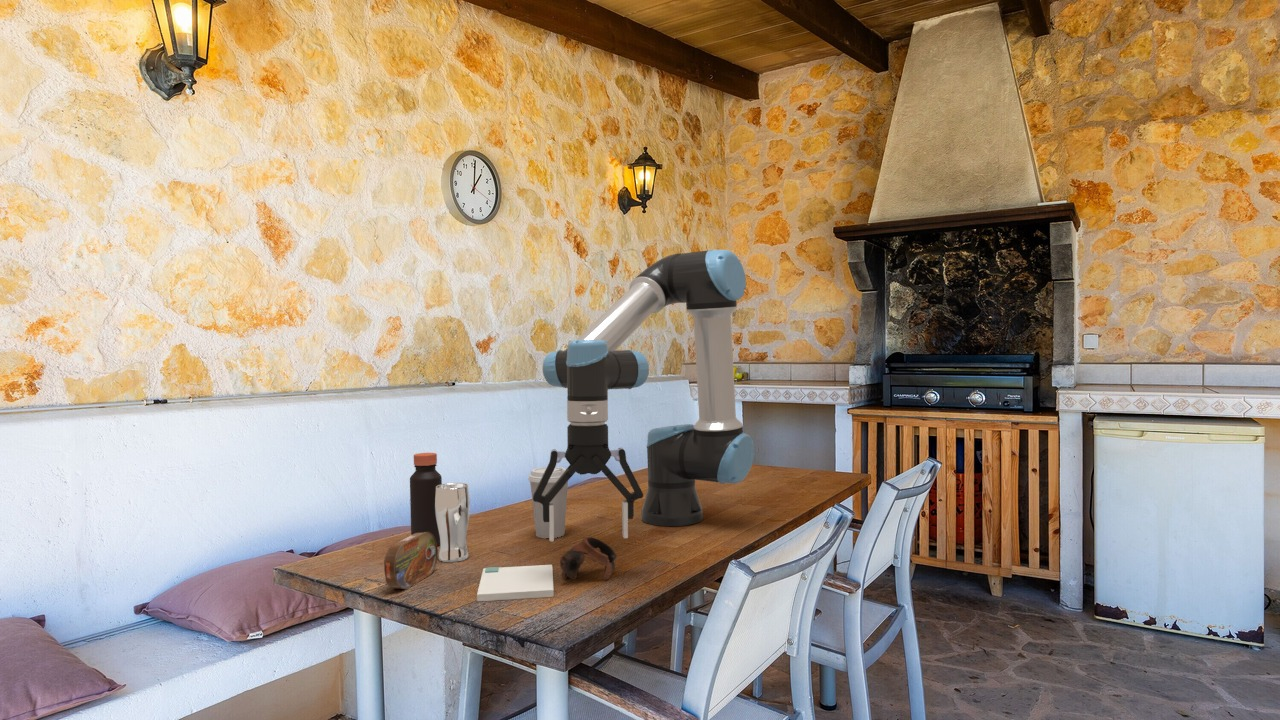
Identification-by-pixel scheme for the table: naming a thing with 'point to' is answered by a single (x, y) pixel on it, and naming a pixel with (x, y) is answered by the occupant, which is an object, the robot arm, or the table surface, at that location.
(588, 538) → the broken pottery vessel
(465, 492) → the beer glass
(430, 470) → the bottle
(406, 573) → the tin
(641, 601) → the table surface
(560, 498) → the coffee cup
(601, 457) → the robot arm
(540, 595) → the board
